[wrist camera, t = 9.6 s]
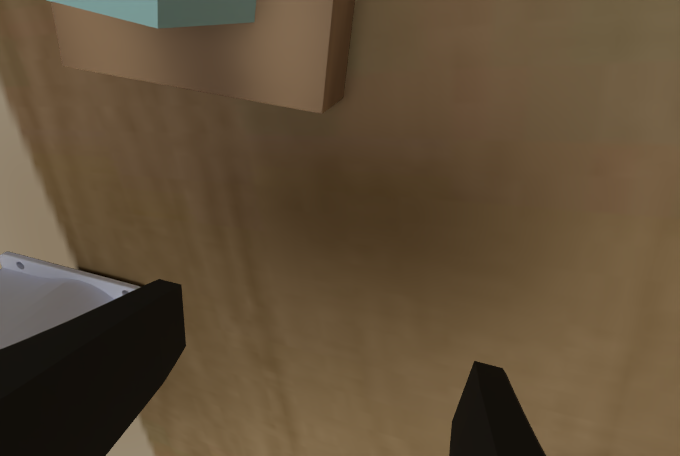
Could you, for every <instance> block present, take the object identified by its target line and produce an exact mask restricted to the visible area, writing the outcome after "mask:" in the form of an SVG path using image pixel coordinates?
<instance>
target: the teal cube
mask: <svg viewBox="0 0 680 456" xmlns="http://www.w3.org/2000/svg"><path fill="white" fill-rule="evenodd" d="M48 1H52V2H56V3H60V4H64V5H67V6H71V7H75V8H79V9H83V10H87V11H91V12H95V13H99V14H103V15H107V16H111V17H114V18H118V19H122V20H126V21H130V22H134V23H138V24H142V25H146V26H150V27H154V28H158V29H159V28H174V27H190V26H205V25H220V24H236V23H251V22H254V21H255V9H256V0H48Z"/></svg>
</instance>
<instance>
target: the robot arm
mask: <svg viewBox="0 0 680 456" xmlns="http://www.w3.org/2000/svg"><path fill="white" fill-rule="evenodd" d="M0 263H1V266H2V268H1V269H0V456H106V454H107V453H108V452H109V451H110V449H111V448H112V447H113V446H114V444H115V443H116V442H117V441H118V439H119V438H120V437H121V436H122V434H123V433H124V432H125V430H126V429H127V428H128V427H129V426H130V424H131V423H132V422H133V421H134V419H135V418H136V417H137V416H138V414H139V413H140V412H141V411H142V409H143V408H144V407H145V406H146V404H147V403H148V402H149V401H150V399H151V398H152V397H153V395H154V394H155V393H156V392H157V390H158V389H159V388H160V386H161V385H162V384H163V382H164V381H165V380H166V378H167V376H168V375H169V373H170V372H171V370H172V368H173V367H174V365H175V364H176V362H177V360H178V358H179V357H180V355H181V353H182V352H183V350H184V348H185V347H186V341H185V328H184V314H183V301H182V288H181V285H180V284H176V283H173V282H169V281H165V280H161V279H158V280H156V281H154V282H151V283H149V284H147V285H144V286H142V287H139V286H137V285H133V284H129V283H126V282H122V281H118V280H114V279H111V278H107V277H103V276H99V275H95V274H92V273H88V272H84V271H80V270H77V269H73V268H69V267H65V266H61V265H58V264H54V263H50V262H46V261H42V260H39V259H35V258H31V257H28V256H24V255H20V254H16V253H12V252H5V253H3V254H1V255H0ZM449 456H546V455H545V453H544V451H543V449H542V447H541V445H540V444H539V442H538V440H537V438H536V436H535V434H534V432H533V430H532V428H531V426H530V424H529V422H528V420H527V418H526V416H525V414H524V412H523V410H522V407H521V405H520V403H519V401H518V399H517V397H516V395H515V392H514V390H513V388H512V386H511V384H510V381H509V379H508V377H507V375H506V373H505V371H504V370H503V368H500V367H496V366H492V365H488V364H484V363H480V362H476V361H474V363H473V366H472V369H471V372H470V374H469V377H468V380H467V382H466V385H465V388H464V391H463V393H462V396H461V399H460V401H459V404H458V407H457V410H456V412H455V415H454V418H453V420H452V429H451V441H450V454H449Z"/></svg>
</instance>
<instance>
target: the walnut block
mask: <svg viewBox="0 0 680 456" xmlns="http://www.w3.org/2000/svg"><path fill="white" fill-rule="evenodd" d="M51 5H52V11H53V16H54V22H55V27H56V33H57V38H58V44H59V49H60V55H61V61H62V66H64V67H69V68H75V69H80V70H86V71H91V72H97V73H102V74H108V75H113V76H119V77H124V78H130V79H135V80H140V81H146V82H151V83H157V84H162V85H168V86H173V87H179V88H184V89H190V90H195V91H200V92H206V93H211V94H217V95H222V96H228V97H233V98H239V99H244V100H250V101H255V102H260V103H266V104H271V105H277V106H282V107H288V108H293V109H299V110H304V111H310V112H315V113H320V114H322V113H324V112H325V111H326V110H327V109H329V108H330V107H331V106H333V105H334V104H335V103H337V102H338V101H339V100H341V99H342V98H343V96H344V88H345V79H346V71H347V63H348V54H349V46H350V38H351V30H352V21H353V13H354V5H355V0H256V9H255V21H254V22H251V23H236V24H220V25H205V26H190V27H174V28H159V29H158V28H154V27H150V26H146V25H142V24H138V23H134V22H130V21H126V20H122V19H118V18H114V17H111V16H107V15H103V14H99V13H95V12H91V11H87V10H83V9H79V8H75V7H71V6H67V5H64V4H60V3H56V2H52V1H51Z"/></svg>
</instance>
